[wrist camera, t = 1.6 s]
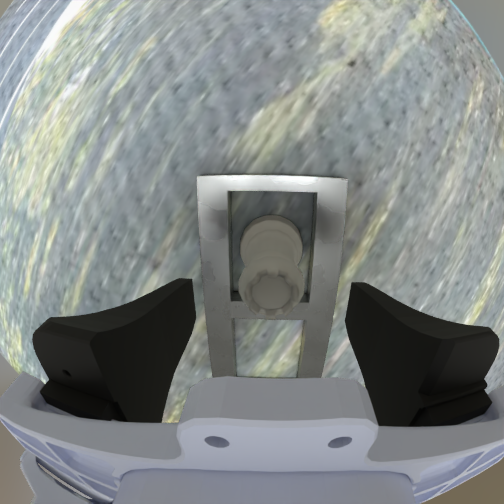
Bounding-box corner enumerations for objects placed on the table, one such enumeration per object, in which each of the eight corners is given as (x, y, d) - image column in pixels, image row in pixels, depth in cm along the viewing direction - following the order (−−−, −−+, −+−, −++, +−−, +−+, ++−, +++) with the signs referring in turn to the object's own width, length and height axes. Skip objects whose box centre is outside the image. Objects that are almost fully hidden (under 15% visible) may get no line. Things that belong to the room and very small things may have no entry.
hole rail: (223, 430, 28) (221, 440, 27) (202, 174, 19) (196, 176, 17) (303, 432, 28) (304, 443, 26) (342, 177, 18) (348, 179, 16)
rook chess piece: (281, 201, 19) (289, 231, 11) (312, 252, 20) (335, 309, 12) (228, 234, 20) (203, 282, 12) (261, 281, 21) (256, 348, 13)
